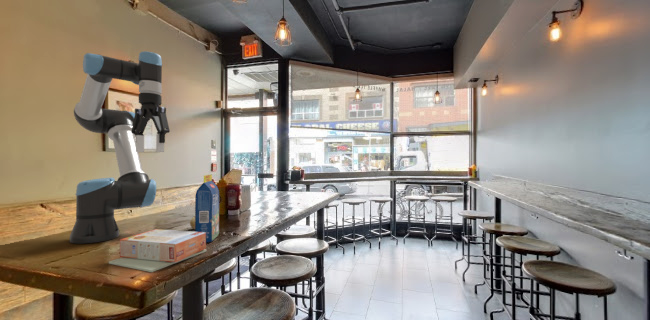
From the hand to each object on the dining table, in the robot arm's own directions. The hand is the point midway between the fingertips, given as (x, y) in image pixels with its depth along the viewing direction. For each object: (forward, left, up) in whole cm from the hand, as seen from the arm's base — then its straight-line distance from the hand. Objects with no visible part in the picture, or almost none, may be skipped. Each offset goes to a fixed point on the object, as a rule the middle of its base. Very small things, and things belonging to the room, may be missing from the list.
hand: (149, 152), depth 111 cm
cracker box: (+10, -12, -30) cm, 34 cm away
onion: (+3, +22, -34) cm, 41 cm away
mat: (+21, -12, -34) cm, 42 cm away
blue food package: (+18, +11, -34) cm, 40 cm away
